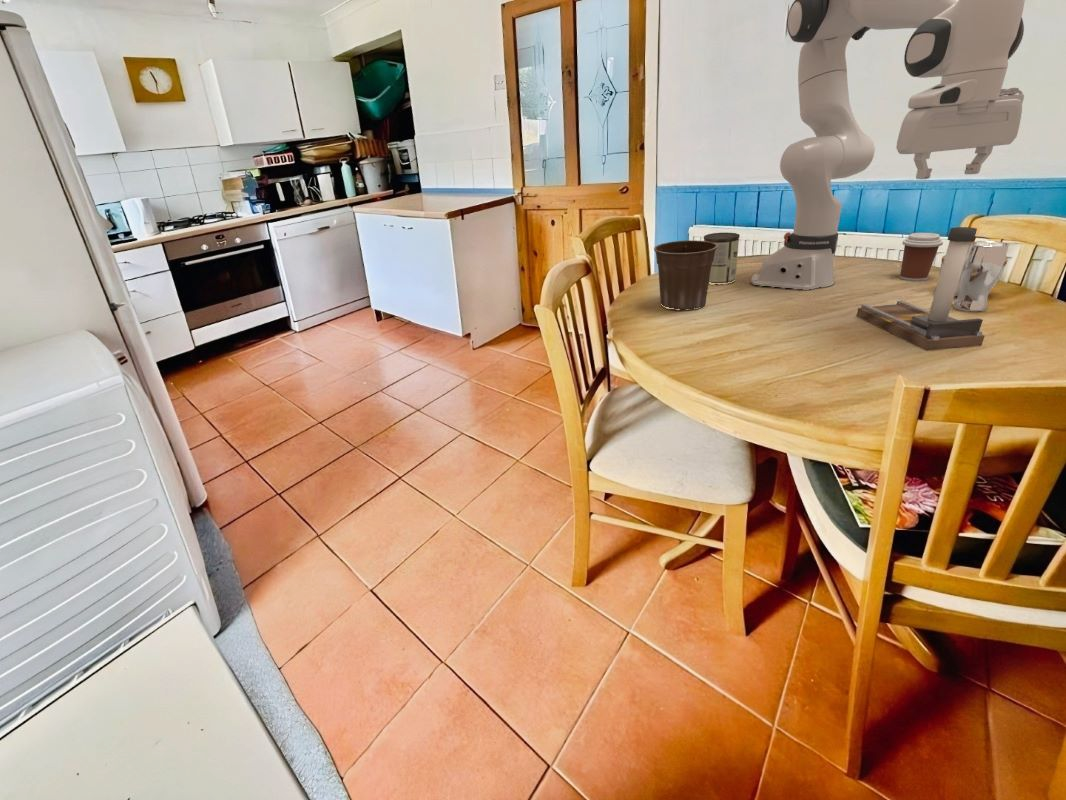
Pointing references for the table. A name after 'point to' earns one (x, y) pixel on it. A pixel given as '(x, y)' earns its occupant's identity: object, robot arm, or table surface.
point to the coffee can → (723, 257)
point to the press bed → (935, 336)
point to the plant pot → (684, 272)
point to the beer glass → (980, 274)
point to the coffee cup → (919, 255)
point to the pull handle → (948, 277)
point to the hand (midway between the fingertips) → (946, 176)
